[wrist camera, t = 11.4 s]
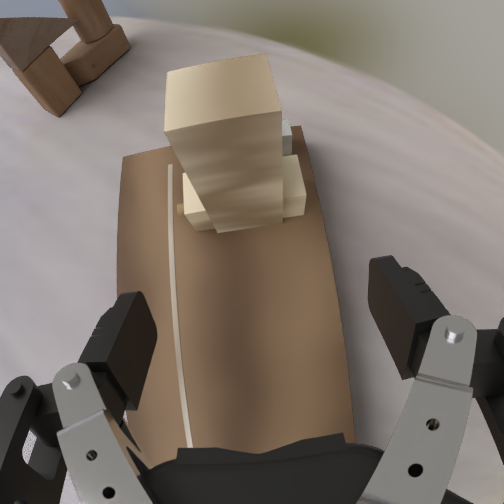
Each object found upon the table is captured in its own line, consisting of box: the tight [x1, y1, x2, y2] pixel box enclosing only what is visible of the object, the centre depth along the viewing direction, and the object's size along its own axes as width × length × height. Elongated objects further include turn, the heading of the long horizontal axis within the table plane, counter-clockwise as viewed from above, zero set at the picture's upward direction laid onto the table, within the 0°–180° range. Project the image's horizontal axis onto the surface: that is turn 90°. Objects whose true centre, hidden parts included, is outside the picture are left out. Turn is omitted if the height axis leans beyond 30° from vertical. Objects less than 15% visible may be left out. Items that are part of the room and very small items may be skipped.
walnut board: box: [117, 119, 355, 466], centre depth 16 cm, size 12×26×4 cm, turn 6°
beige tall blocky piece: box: [164, 54, 306, 233], centre depth 14 cm, size 7×3×9 cm, turn 97°
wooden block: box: [0, 0, 131, 117], centre depth 18 cm, size 4×11×18 cm, turn 145°
